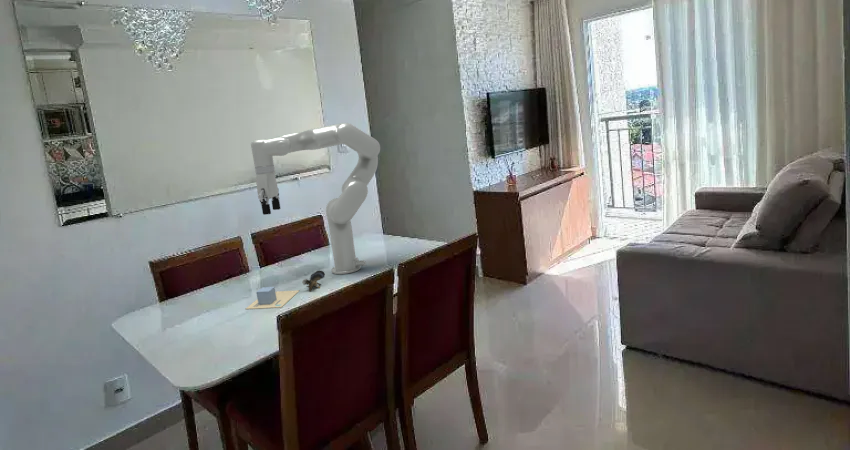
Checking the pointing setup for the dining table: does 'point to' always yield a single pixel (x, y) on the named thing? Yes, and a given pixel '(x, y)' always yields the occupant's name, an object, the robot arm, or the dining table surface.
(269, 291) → the blue block
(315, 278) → the squirrel figurine
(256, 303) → the letter
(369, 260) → the dining table surface
